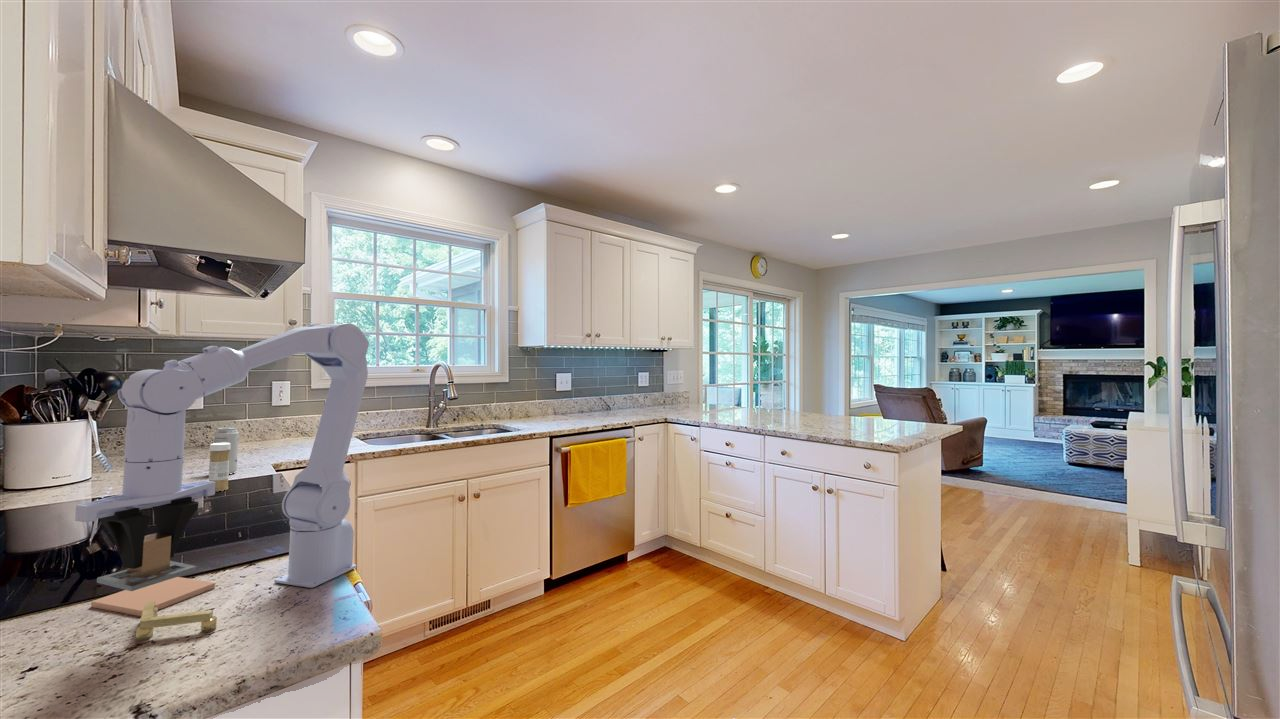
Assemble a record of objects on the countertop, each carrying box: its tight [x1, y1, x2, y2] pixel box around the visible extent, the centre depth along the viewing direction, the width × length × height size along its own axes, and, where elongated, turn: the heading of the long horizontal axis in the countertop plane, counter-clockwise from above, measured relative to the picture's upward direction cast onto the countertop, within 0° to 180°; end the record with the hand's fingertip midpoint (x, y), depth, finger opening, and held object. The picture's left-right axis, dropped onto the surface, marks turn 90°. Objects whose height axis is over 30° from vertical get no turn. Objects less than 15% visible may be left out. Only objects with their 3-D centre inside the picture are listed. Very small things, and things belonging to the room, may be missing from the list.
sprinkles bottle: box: [208, 442, 231, 493], centre depth 143 cm, size 5×5×14 cm
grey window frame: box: [96, 532, 197, 591], centre depth 67 cm, size 7×7×5 cm
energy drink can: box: [214, 426, 240, 474], centre depth 164 cm, size 6×6×15 cm
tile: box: [90, 576, 216, 617], centre depth 78 cm, size 10×10×1 cm
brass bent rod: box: [135, 601, 218, 642], centre depth 68 cm, size 6×12×2 cm, turn 77°
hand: (148, 561), depth 67 cm, fingers closed on grey window frame, 3 cm apart
